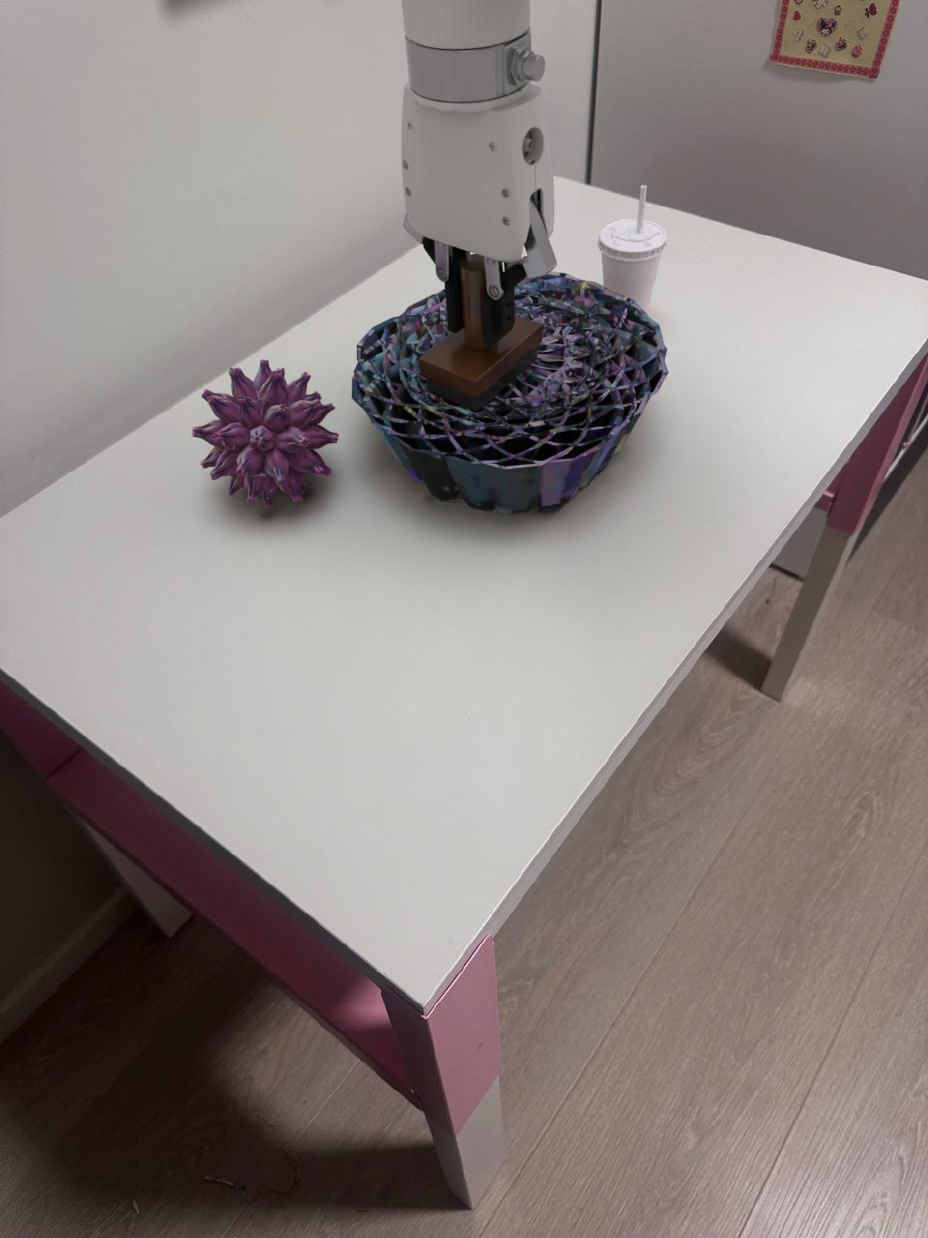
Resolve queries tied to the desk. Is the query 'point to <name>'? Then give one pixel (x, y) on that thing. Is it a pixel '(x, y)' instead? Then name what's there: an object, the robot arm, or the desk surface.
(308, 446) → the flower
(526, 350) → the stamp
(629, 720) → the desk surface
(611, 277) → the smoothie
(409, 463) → the decorative bowl
